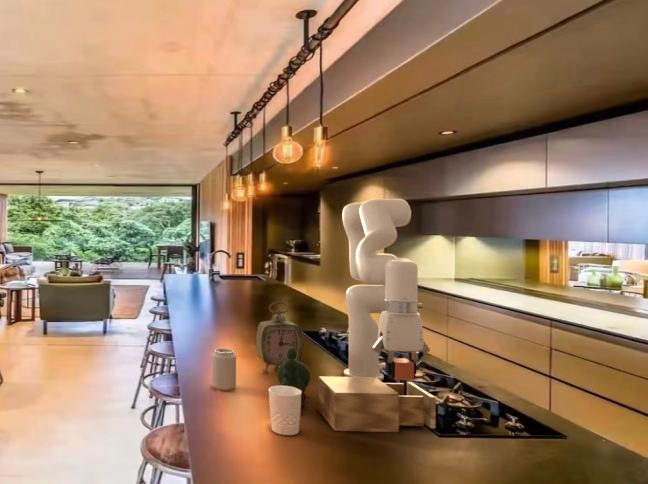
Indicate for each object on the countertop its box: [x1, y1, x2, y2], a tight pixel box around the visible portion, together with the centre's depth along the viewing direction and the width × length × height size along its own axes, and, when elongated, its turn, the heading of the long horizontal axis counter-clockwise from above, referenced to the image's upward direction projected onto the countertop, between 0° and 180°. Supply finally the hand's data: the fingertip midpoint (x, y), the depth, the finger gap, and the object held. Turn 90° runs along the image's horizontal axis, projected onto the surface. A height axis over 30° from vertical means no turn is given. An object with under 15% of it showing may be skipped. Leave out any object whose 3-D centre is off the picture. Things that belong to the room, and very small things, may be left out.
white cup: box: [268, 384, 302, 436], centre depth 120 cm, size 8×8×10 cm
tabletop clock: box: [255, 301, 304, 375], centre depth 171 cm, size 14×9×25 cm, turn 91°
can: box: [211, 348, 237, 392], centre depth 153 cm, size 8×8×12 cm
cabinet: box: [318, 375, 400, 433], centre depth 126 cm, size 16×14×10 cm
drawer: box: [383, 381, 447, 429], centre depth 125 cm, size 19×12×8 cm, turn 87°
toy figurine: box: [277, 347, 311, 410], centre depth 140 cm, size 9×19×25 cm
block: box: [393, 357, 415, 381], centre depth 126 cm, size 4×4×4 cm
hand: (400, 376), depth 126 cm, fingers closed on block, 4 cm apart
